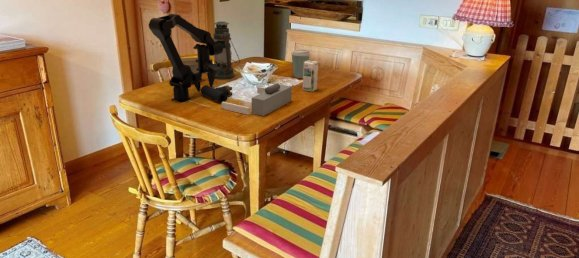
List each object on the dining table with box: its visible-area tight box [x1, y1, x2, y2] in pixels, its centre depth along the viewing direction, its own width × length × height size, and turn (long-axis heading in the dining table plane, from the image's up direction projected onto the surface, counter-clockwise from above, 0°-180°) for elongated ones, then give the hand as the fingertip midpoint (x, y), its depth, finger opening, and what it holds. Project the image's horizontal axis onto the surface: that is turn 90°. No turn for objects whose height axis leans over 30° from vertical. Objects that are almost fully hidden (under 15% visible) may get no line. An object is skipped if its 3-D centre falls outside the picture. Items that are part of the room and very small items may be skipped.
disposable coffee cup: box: [291, 49, 311, 79], centre depth 237 cm, size 11×11×15 cm
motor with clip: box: [221, 82, 293, 117], centre depth 193 cm, size 29×20×10 cm
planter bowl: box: [180, 56, 203, 84], centre depth 224 cm, size 16×16×11 cm
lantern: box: [212, 20, 241, 80], centre depth 231 cm, size 19×14×30 cm
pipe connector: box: [200, 84, 233, 104], centre depth 201 cm, size 12×5×15 cm
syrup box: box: [302, 59, 319, 93], centre depth 215 cm, size 6×6×14 cm
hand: (205, 89), depth 208 cm, fingers open, 9 cm apart
